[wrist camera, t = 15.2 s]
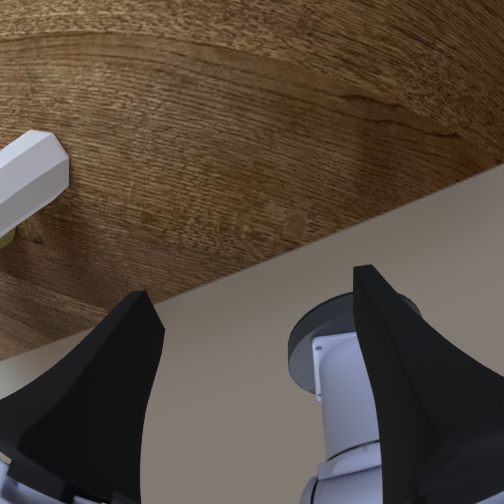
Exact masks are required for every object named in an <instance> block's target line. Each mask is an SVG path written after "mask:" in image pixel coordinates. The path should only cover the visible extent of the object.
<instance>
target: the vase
mask: <svg viewBox="0 0 504 504" xmlns="http://www.w3.org/2000/svg"><path fill="white" fill-rule="evenodd" d="M15 229H16V226H15V227H14V228H13V229H11V230H10V231H9V232H7V233H6V234H5V235H3V236H2V237H1V238H0V250H1V249H2V248H3V247H4V246H6V245H8V244H9V243H10V242H11V241H12V240H13V238H14V235H15Z"/></svg>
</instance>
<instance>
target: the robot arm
mask: <svg viewBox="0 0 504 504" xmlns="http://www.w3.org/2000/svg"><path fill="white" fill-rule="evenodd" d="M353 317H354V322H355V328H356V332H350V333H343V334H335V335H328V336H320V337H315V338H314V339H313V340H312V352H313V364H314V378H315V392H316V401H318V402H322V410H323V422H324V437H325V452H326V462H324V463H320V464H318V465H317V466H318V475H317V476H314V477H312V478H311V479H310V480H309V482H308V483H307V485H306V487H305V488H304V490H303V492H302V494H301V498H300V502H299V504H504V377H503V376H501V375H499V374H498V373H496V372H494V371H492V370H491V369H489V368H487V367H485V366H484V365H482V364H481V363H479V362H477V361H476V360H474V359H473V358H472V357H470V356H469V355H467V354H466V353H464V352H463V351H461V350H460V349H458V348H457V347H456V346H454V345H453V344H452V343H450V342H449V341H448V340H447V339H445V338H444V337H443V336H442V335H441V334H439V333H438V332H437V331H436V330H435V329H433V328H432V327H431V326H430V325H429V324H428V323H427V322H426V321H425V320H424V319H423V318H422V317H420V316H419V315H418V314H417V313H416V312H415V311H414V310H413V309H412V308H411V307H410V306H409V305H408V304H407V303H406V302H405V300H404V299H403V298H402V297H401V296H400V295H399V294H398V293H397V292H396V291H395V290H394V289H393V288H392V287H391V285H390V284H389V283H388V282H387V281H386V280H385V279H384V278H383V277H382V275H381V274H380V273H379V272H378V271H377V270H376V268H375V267H374V266H373V265H364V266H356V267H353ZM164 333H165V328H164V326H163V324H162V322H161V320H160V318H159V317H158V315H157V313H156V311H155V309H154V307H153V305H152V303H151V301H150V298H149V296H148V294H147V292H146V290H143V291H132V292H130V293H129V294H128V295H127V296H126V297H125V298H124V299H123V300H122V301H121V302H120V303H119V304H118V305H117V306H116V307H115V308H114V309H113V310H112V311H111V312H110V313H109V314H108V315H107V316H106V317H105V318H104V319H103V320H102V321H101V322H100V323H99V324H98V325H97V326H96V327H95V328H94V329H93V330H92V332H90V333H89V334H88V335H87V336H86V337H85V338H84V339H83V340H82V341H81V342H80V343H79V344H78V345H77V346H76V347H75V348H74V349H73V350H72V351H71V352H69V353H68V354H67V355H66V356H65V357H64V358H63V359H61V360H60V361H59V362H58V363H57V364H55V365H54V366H53V367H52V368H50V369H49V370H48V371H46V372H45V373H43V374H42V375H41V376H39V377H38V378H36V379H35V380H34V381H32V382H31V383H29V384H28V385H26V386H24V387H23V388H21V389H20V390H18V391H16V392H14V393H13V394H11V395H9V396H7V397H5V398H3V399H1V400H0V452H2V453H3V454H4V455H6V456H7V457H9V458H10V459H12V461H11V463H10V465H9V464H7V463H6V462H4V461H2V460H1V459H0V504H101V503H106V504H141V494H140V454H141V443H142V433H143V425H144V419H145V412H146V408H147V403H148V400H149V396H150V393H151V389H152V386H153V382H154V379H155V375H156V372H157V368H158V365H159V361H160V358H161V354H162V348H163V341H164Z"/></svg>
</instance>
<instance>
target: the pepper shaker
mask: <svg viewBox="0 0 504 504" xmlns="http://www.w3.org/2000/svg"><path fill="white" fill-rule="evenodd" d="M68 186H69V155H68V154H67V153H66V151H65V150H64V148H63V147H62V145H61V144H60V142H59V141H58V139H57V138H56V136H55V135H54V134H53V133H50V132H43V131H35V130H29V131H28V132H26V133H25V134H23V135H22V136H20V137H19V138H18V139H16V140H15V141H13V142H12V143H10V144H9V145H8V146H6V147H5V148H4V149H2V150H1V151H0V238H1V237H2V236H3V235H5V234H6V233H7V232H9V231H10V230H11V229H13V228H14V227H15V226H17V225H18V224H20V223H21V222H22V221H24V220H25V219H27V218H28V217H29V216H31V215H32V214H34V213H35V212H37V211H38V210H40V209H41V208H43V207H44V206H46V205H47V204H49V203H50V202H52V201H53V200H54V199H55V198H56V197H57V196H58V195H59V194H60V193H61V192H63V191H64V190H65V189H66V188H67V187H68Z"/></svg>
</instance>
